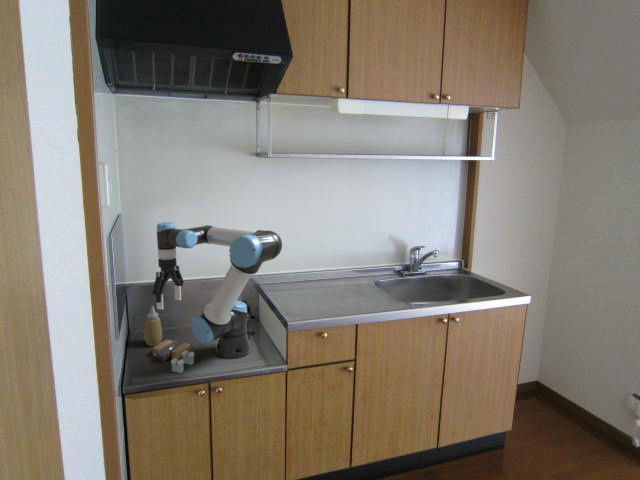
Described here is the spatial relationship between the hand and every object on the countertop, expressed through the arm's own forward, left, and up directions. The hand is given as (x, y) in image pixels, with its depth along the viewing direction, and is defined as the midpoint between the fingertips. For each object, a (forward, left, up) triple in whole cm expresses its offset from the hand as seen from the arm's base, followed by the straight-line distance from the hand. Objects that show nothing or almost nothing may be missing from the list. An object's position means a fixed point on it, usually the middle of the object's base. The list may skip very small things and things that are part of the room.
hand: (169, 304), depth 199 cm
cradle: (-17, +15, -20) cm, 30 cm away
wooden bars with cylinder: (-5, +6, -20) cm, 21 cm away
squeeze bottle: (+8, +1, -20) cm, 22 cm away
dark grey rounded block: (-5, +8, -20) cm, 22 cm away
